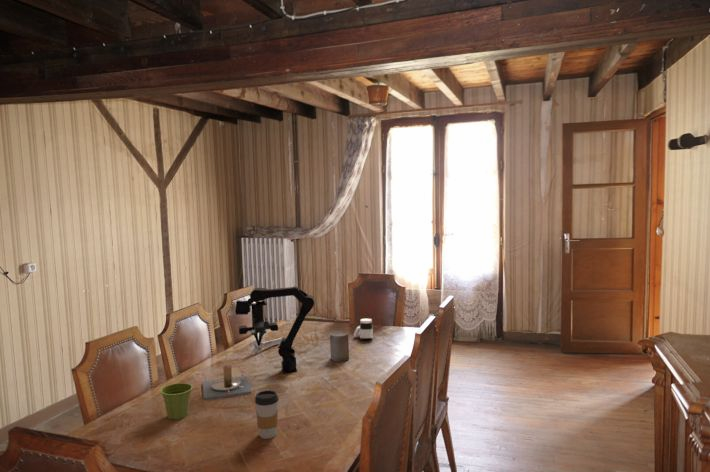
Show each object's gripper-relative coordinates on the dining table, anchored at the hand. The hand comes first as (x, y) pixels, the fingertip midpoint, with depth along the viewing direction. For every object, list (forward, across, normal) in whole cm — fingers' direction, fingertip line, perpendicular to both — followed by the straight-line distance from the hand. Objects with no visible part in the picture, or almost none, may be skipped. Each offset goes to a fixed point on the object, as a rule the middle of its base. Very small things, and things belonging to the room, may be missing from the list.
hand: (258, 345), depth 238 cm
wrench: (+13, +9, +34) cm, 38 cm away
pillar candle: (+13, +42, +3) cm, 44 cm away
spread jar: (+13, +66, +33) cm, 75 cm away
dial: (+12, -17, -16) cm, 26 cm away
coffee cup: (+13, -6, -66) cm, 68 cm away
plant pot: (+13, -37, -38) cm, 55 cm away
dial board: (+13, -17, -16) cm, 27 cm away
